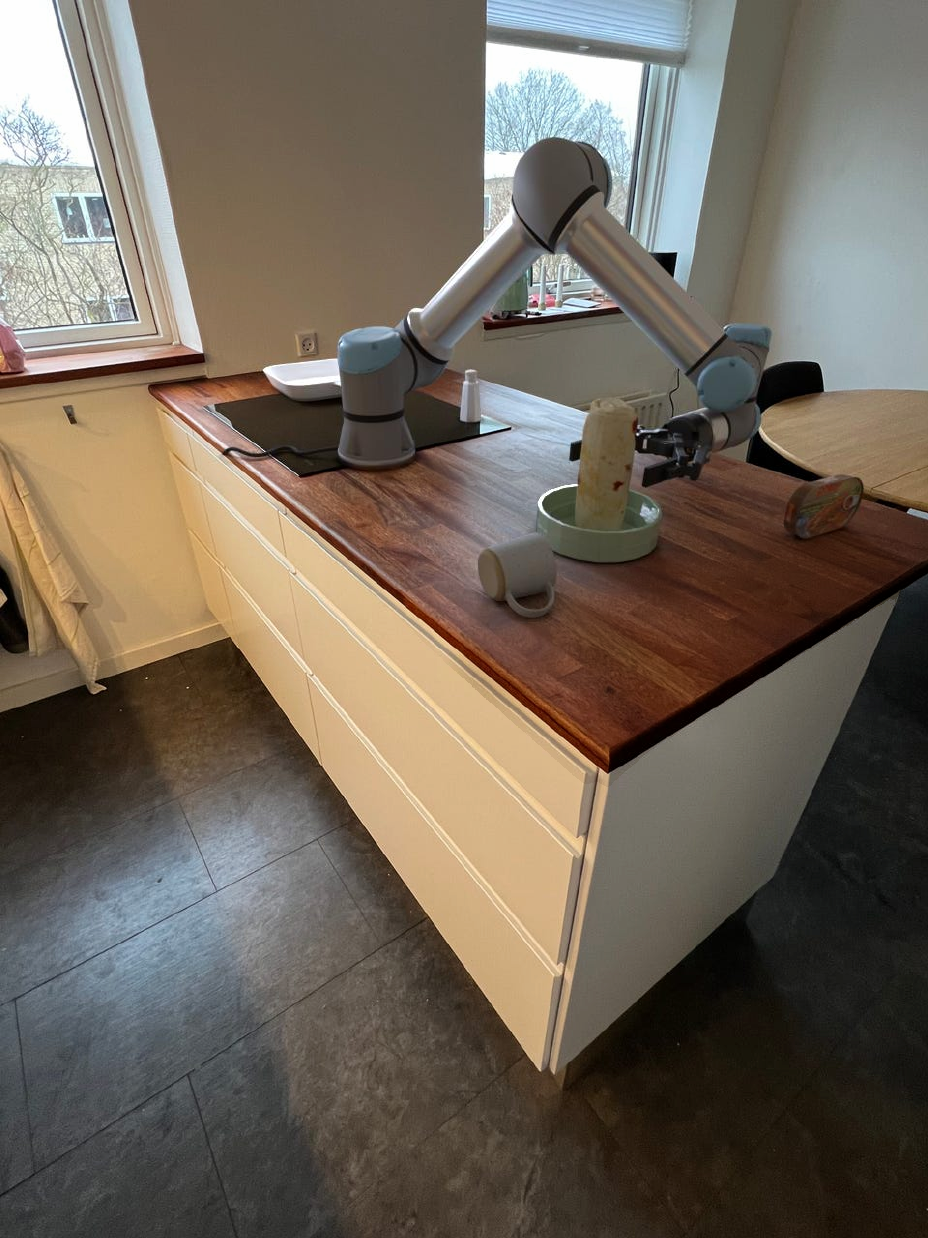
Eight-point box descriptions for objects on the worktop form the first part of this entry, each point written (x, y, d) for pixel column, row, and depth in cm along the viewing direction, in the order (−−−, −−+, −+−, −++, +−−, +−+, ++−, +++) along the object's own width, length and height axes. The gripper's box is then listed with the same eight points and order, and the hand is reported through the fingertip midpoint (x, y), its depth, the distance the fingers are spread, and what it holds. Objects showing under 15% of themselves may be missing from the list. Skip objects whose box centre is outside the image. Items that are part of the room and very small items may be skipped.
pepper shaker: (455, 421, 149) (455, 371, 143) (464, 415, 153) (464, 367, 147) (477, 423, 147) (477, 374, 141) (485, 417, 152) (486, 369, 145)
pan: (349, 373, 191) (347, 356, 188) (415, 405, 161) (414, 386, 158) (260, 384, 179) (257, 366, 176) (313, 420, 149) (311, 400, 146)
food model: (632, 543, 94) (655, 407, 83) (594, 551, 92) (612, 412, 81) (596, 518, 102) (613, 390, 91) (560, 525, 100) (573, 394, 89)
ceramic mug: (473, 586, 84) (474, 534, 80) (526, 573, 87) (530, 522, 83) (513, 628, 76) (516, 573, 72) (569, 611, 80) (576, 558, 75)
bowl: (569, 573, 88) (572, 540, 85) (517, 521, 102) (519, 491, 99) (680, 553, 93) (687, 522, 90) (616, 506, 107) (620, 478, 104)
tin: (790, 543, 95) (807, 490, 91) (773, 535, 98) (788, 483, 93) (855, 524, 101) (873, 474, 97) (837, 517, 104) (854, 467, 99)
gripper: (757, 480, 97) (674, 516, 85) (627, 440, 113) (543, 466, 101) (771, 431, 92) (685, 462, 81) (633, 397, 109) (546, 418, 97)
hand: (606, 464), depth 91 cm, fingers open, 13 cm apart
